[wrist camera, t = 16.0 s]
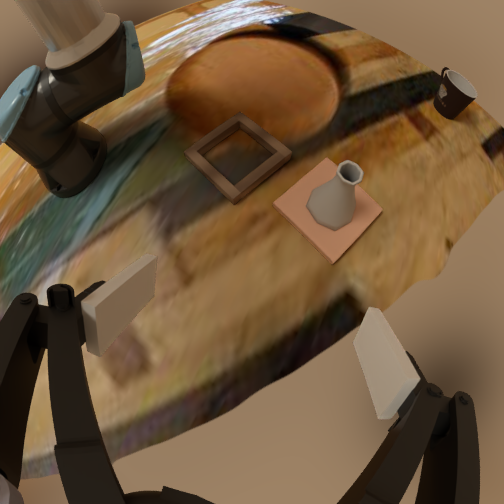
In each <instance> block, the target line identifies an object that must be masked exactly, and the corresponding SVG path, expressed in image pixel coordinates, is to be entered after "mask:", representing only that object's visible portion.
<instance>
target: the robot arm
mask: <svg viewBox="0 0 504 504" xmlns="http://www.w3.org/2000/svg"><path fill="white" fill-rule="evenodd" d="M15 2H16V3H17V4H18V6H19V8H20V9H21V10H22V12H23V14H24V15H25V16H26V18H27V19H28V21H29V22H30V24H31V25H32V27H33V28H34V30H35V31H36V32H37V34H38V35H39V37H40V38H41V39H42V41H43V42H44V44H45V45H46V47H47V48H48V49H49V51H48V54H47V57H46V66H47V67H46V68H44V69H43V70H41V69H40V67H38V66H36V65H33V66H31V67H29V68H27V69H26V70H25V71H23V72H22V73H21V74H20V75H19V76H18V77H17V78H16V79H15V81H14V82H13V83H12V84H11V85H10V87H9V88H8V89H7V90H6V92H5V93H4V94H3V96H2V98H1V99H0V139H1V141H2V142H3V143H5V144H6V145H8V146H9V147H10V148H11V149H12V150H14V151H15V152H16V153H17V154H18V155H20V156H21V157H22V158H23V159H24V160H26V161H27V162H28V163H29V164H31V165H32V166H33V167H34V168H35V169H36V170H37V172H38V174H39V176H40V178H41V179H42V181H43V183H44V185H45V187H46V188H47V189H48V190H49V191H50V192H51V193H53V194H54V195H55V196H57V197H61V198H66V197H70V196H73V195H75V194H77V193H79V192H80V191H82V190H83V189H84V188H85V187H86V186H88V185H89V184H90V183H91V181H92V180H93V179H94V178H95V177H96V175H97V174H98V172H99V171H100V169H101V167H102V165H103V163H104V160H105V157H106V152H107V144H106V141H105V139H104V137H103V136H102V135H101V133H100V132H99V131H98V130H97V129H95V128H93V127H91V126H89V125H87V124H85V123H83V122H81V121H79V120H80V119H82V118H83V117H85V116H87V115H88V114H90V113H92V112H94V111H95V110H97V109H99V108H101V107H103V106H104V105H106V104H108V103H110V102H112V101H114V100H116V99H118V98H120V97H123V96H125V95H126V93H128V92H130V91H132V90H134V89H136V88H138V87H139V86H140V85H141V84H142V83H143V82H144V80H145V69H144V64H143V59H142V55H141V51H140V47H139V43H138V38H137V34H136V31H135V27H134V24H133V22H132V21H127V22H126V21H125V22H122V23H121V21H120V18H119V16H117V15H116V14H112V13H105V12H104V11H103V8H102V6H101V4H100V1H99V0H15ZM156 267H157V256H155V255H151V254H148V253H146V254H144V255H143V256H142V257H140V258H139V259H137V260H136V261H135V262H133V263H132V264H130V265H129V266H128V267H126V268H125V269H123V270H122V271H121V272H119V273H118V274H117V275H115V276H114V277H112V278H111V279H110V280H108V281H107V282H105V281H99V282H96V283H94V284H92V285H91V286H90V287H88V288H87V289H85V290H84V292H81V293H80V294H79V295H77V296H76V297H75V296H74V289H73V288H72V287H71V286H70V285H67V284H55V285H52V286H50V287H49V288H48V289H47V299H48V305H49V306H44V305H39V304H38V299H37V296H36V295H34V294H32V293H22V294H20V295H18V296H16V298H15V299H14V300H13V302H12V303H11V305H10V306H9V308H8V310H7V311H6V313H5V315H4V316H3V318H2V320H1V322H0V504H24V501H23V498H22V495H21V493H20V492H19V491H18V487H19V482H20V477H21V469H22V458H23V448H24V440H25V433H26V427H27V421H28V415H29V410H30V405H31V400H32V396H33V392H34V387H35V383H36V380H37V376H38V372H39V369H40V365H41V362H42V358H43V355H44V352H45V349H48V376H49V390H50V400H51V409H52V416H53V423H54V429H55V435H56V441H57V445H55V446H54V450H55V456H56V461H57V465H58V469H59V473H60V476H61V480H62V484H63V487H64V490H65V494H66V497H67V500H68V503H69V504H214V503H212V502H210V501H207V500H205V499H203V498H201V497H199V496H197V495H193V494H190V493H186V492H182V491H179V490H175V489H172V488H169V487H166V486H163V489H162V492H160V491H138V492H132V493H128V494H124V492H123V490H122V488H121V486H120V484H119V481H118V479H117V477H116V474H115V472H114V469H113V467H112V464H111V462H110V459H109V456H108V453H107V451H106V448H105V445H104V442H103V439H102V436H101V432H100V429H99V426H98V422H97V419H96V415H95V412H94V408H93V404H92V400H91V395H90V391H89V387H88V382H87V377H86V372H85V367H84V361H83V355H82V349H81V346H82V345H83V344H84V343H85V342H86V347H87V351H88V352H90V353H92V354H94V355H96V356H99V357H101V356H102V355H103V353H104V352H105V351H106V350H107V349H108V348H109V346H110V345H111V344H112V343H113V342H114V341H115V339H116V338H117V337H118V336H119V335H120V334H121V333H122V331H123V330H124V329H125V328H126V327H127V326H128V325H129V323H130V322H131V321H132V320H133V319H134V318H135V317H136V316H137V314H138V313H139V312H140V311H141V310H142V309H143V308H144V307H145V306H146V304H147V303H148V302H149V301H150V300H151V299H152V298H153V297H154V291H155V278H156ZM353 345H354V348H355V351H356V353H357V356H358V359H359V362H360V365H361V368H362V371H363V374H364V377H365V379H366V383H367V385H368V389H369V392H370V395H371V398H372V401H373V404H374V408H375V410H376V414H377V418H378V419H391V418H392V417H393V416H394V415H395V413H396V412H397V411H398V414H399V418H398V419H397V420H396V422H395V423H394V424H393V425H392V426H391V427H390V429H389V430H388V431H389V433H388V435H387V437H386V438H385V440H384V441H383V443H382V444H381V446H380V447H379V449H378V451H377V452H376V454H375V455H374V457H373V458H372V459H371V461H370V462H369V464H368V465H367V467H366V468H365V469H364V471H363V472H362V473H361V475H360V476H359V477H358V478H357V480H356V481H355V482H354V484H353V485H352V486H351V487H350V489H349V490H348V491H347V492H346V493H345V495H344V496H343V497H342V498H341V499H340V500H339V502H338V503H337V504H399V502H400V501H401V499H402V497H403V495H404V493H405V492H406V490H407V488H408V486H409V484H410V482H411V480H412V478H413V476H414V474H415V472H416V469H417V467H418V465H419V463H420V461H421V459H422V456H423V454H424V458H423V465H422V471H421V476H420V482H419V487H418V493H417V497H416V501H415V504H479V494H480V459H479V444H478V432H477V424H476V416H475V410H474V404H473V400H472V398H471V397H470V395H468V394H467V393H464V392H461V391H459V392H456V393H455V395H454V396H453V398H449V397H445V396H443V392H442V390H441V389H440V388H439V387H437V386H436V385H434V384H432V383H427V381H426V379H425V377H424V375H423V374H422V372H421V370H420V369H419V367H418V365H417V364H416V361H415V360H414V358H413V356H411V355H410V354H409V353H408V352H407V351H405V350H404V349H403V347H402V345H401V344H400V342H399V340H398V338H397V337H396V335H395V333H394V332H393V330H392V328H391V327H390V325H389V324H388V322H387V320H386V319H385V317H384V315H383V314H382V312H381V311H380V309H378V308H373V307H369V308H368V310H367V312H366V315H365V317H364V319H363V322H362V324H361V326H360V328H359V330H358V333H357V335H356V337H355V339H354V341H353Z"/></svg>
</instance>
